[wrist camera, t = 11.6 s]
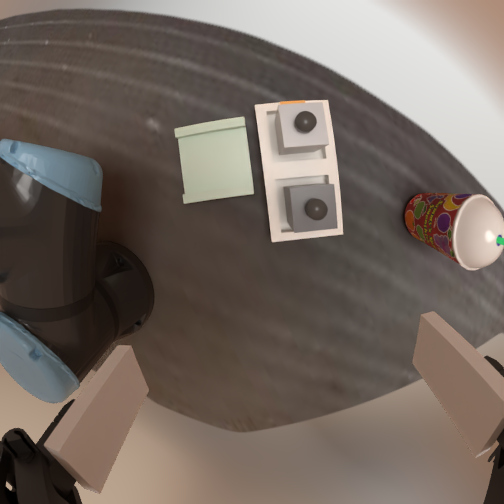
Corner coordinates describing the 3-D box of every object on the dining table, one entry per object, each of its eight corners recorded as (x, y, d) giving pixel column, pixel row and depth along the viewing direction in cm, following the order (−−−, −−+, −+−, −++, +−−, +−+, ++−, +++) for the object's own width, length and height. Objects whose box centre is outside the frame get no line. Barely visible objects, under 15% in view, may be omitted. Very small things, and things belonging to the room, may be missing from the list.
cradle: (187, 202, 36) (183, 203, 34) (178, 130, 34) (174, 128, 32) (254, 193, 35) (253, 194, 34) (244, 119, 33) (244, 116, 31)
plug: (279, 155, 33) (285, 145, 24) (274, 121, 32) (279, 100, 23) (314, 152, 33) (332, 142, 24) (309, 118, 32) (325, 98, 23)
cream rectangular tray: (271, 237, 37) (274, 258, 27) (255, 110, 33) (252, 84, 23) (336, 230, 36) (363, 248, 26) (322, 106, 32) (344, 80, 22)
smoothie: (392, 192, 35) (491, 209, 15) (435, 183, 34) (535, 195, 14) (400, 248, 37) (489, 302, 17) (441, 236, 36) (533, 275, 16)
